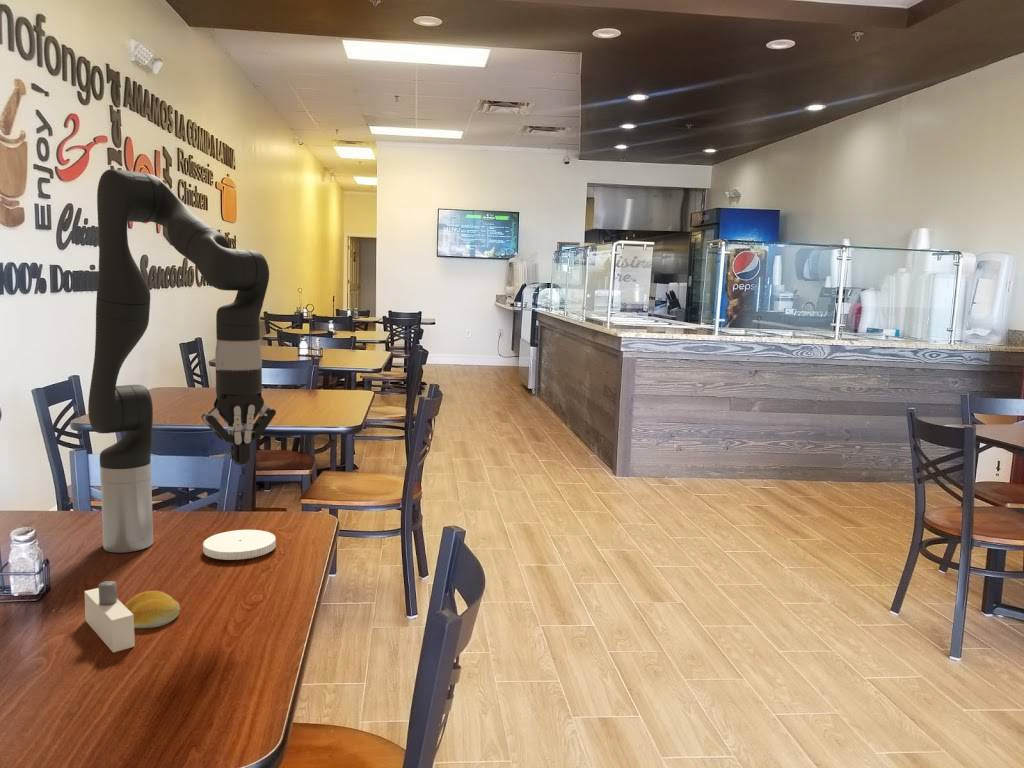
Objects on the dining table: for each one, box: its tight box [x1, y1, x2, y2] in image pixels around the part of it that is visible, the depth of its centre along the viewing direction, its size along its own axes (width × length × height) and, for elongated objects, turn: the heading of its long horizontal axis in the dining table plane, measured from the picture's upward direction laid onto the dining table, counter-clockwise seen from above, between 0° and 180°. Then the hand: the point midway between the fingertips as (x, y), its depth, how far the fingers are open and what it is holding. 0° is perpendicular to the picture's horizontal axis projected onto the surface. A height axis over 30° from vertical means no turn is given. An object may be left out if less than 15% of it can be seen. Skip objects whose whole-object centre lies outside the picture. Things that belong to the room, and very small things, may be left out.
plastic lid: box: [202, 529, 277, 561], centre depth 156 cm, size 14×14×2 cm
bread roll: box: [123, 590, 181, 629], centre depth 124 cm, size 8×9×4 cm
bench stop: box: [83, 580, 136, 653], centre depth 118 cm, size 14×3×8 cm, turn 44°
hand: (240, 463), depth 134 cm, fingers closed
